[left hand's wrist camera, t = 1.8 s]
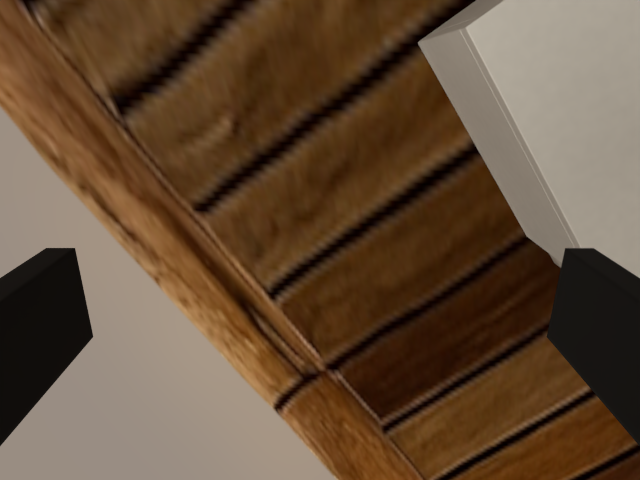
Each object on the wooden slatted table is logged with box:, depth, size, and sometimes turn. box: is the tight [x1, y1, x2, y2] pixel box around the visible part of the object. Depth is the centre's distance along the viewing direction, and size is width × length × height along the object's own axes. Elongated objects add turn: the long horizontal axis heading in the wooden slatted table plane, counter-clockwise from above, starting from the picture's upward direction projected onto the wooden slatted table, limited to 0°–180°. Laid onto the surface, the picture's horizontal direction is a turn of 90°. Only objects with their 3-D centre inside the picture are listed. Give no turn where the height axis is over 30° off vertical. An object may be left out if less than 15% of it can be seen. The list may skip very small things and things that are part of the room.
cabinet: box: [418, 0, 640, 278], centre depth 27 cm, size 17×10×10 cm, turn 35°
